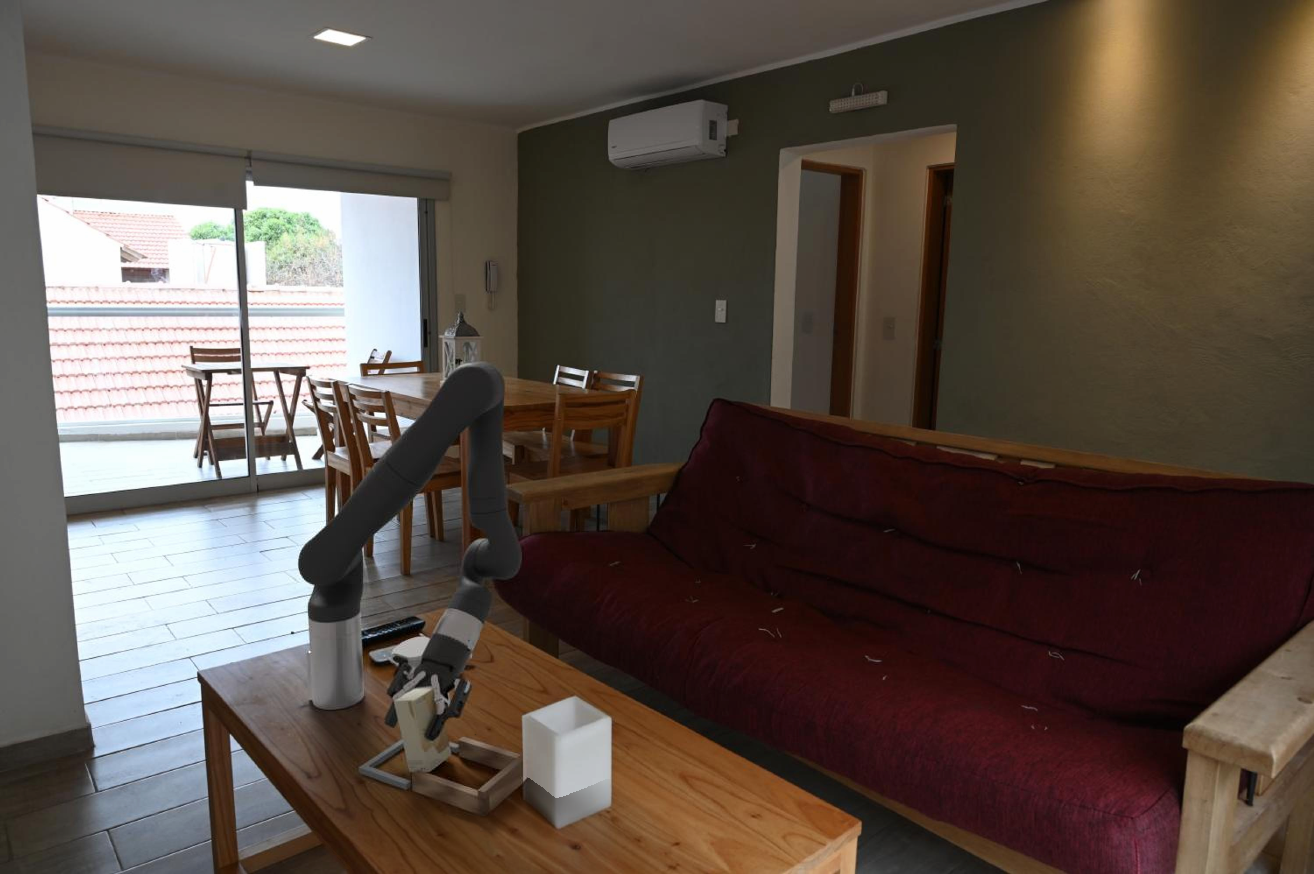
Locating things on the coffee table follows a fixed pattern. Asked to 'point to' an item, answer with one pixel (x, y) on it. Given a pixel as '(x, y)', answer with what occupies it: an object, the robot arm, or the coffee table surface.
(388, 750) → the bracket
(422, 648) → the robot toy
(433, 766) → the skincare box
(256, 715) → the coffee table surface
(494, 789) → the frame
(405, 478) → the robot arm
